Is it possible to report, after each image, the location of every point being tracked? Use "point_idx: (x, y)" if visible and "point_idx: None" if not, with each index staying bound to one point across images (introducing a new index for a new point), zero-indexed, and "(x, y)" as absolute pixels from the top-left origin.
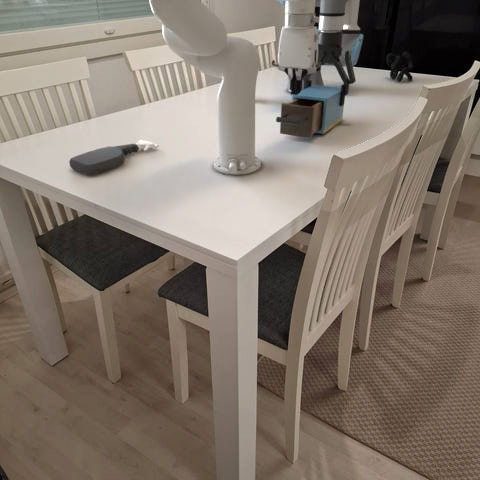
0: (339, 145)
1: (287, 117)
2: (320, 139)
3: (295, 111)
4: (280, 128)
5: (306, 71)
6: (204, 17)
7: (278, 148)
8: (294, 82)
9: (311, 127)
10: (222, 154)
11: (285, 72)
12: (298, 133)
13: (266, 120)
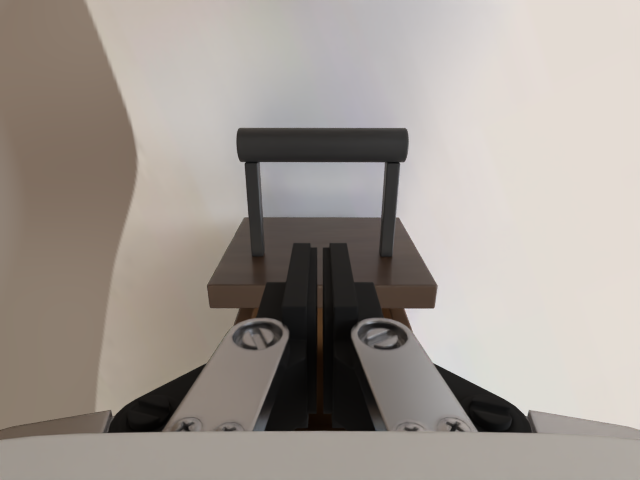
0: (152, 264)
1: (376, 249)
2: None
3: None
4: (402, 225)
5: (115, 431)
6: None
7: (362, 119)
8: (315, 295)
9: (235, 236)
10: None
11: (493, 394)
12: (305, 221)
13: (528, 400)
